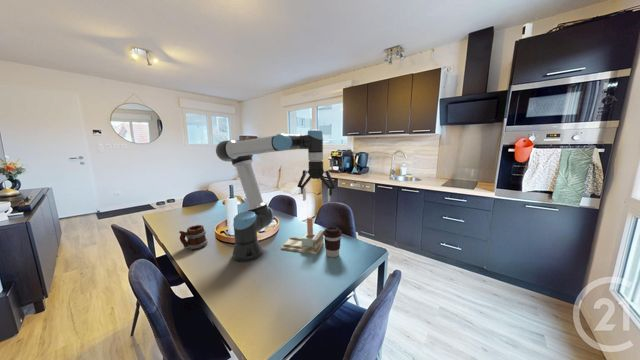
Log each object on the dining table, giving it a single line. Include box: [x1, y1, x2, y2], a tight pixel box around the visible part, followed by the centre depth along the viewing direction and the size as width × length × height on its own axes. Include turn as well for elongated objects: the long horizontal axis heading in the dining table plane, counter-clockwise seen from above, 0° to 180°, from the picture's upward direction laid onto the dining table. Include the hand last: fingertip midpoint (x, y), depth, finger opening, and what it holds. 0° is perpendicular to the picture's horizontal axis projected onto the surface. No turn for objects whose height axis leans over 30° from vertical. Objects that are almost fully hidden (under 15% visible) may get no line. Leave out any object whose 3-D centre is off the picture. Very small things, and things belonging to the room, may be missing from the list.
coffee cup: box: [323, 226, 343, 258], centre depth 119 cm, size 10×10×15 cm
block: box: [301, 232, 318, 248], centre depth 128 cm, size 8×8×6 cm
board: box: [280, 229, 325, 255], centre depth 130 cm, size 22×14×8 cm, turn 73°
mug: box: [178, 224, 209, 251], centre depth 130 cm, size 12×14×15 cm
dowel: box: [306, 216, 314, 238], centre depth 127 cm, size 3×3×15 cm
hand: (316, 200), depth 115 cm, fingers open, 13 cm apart
